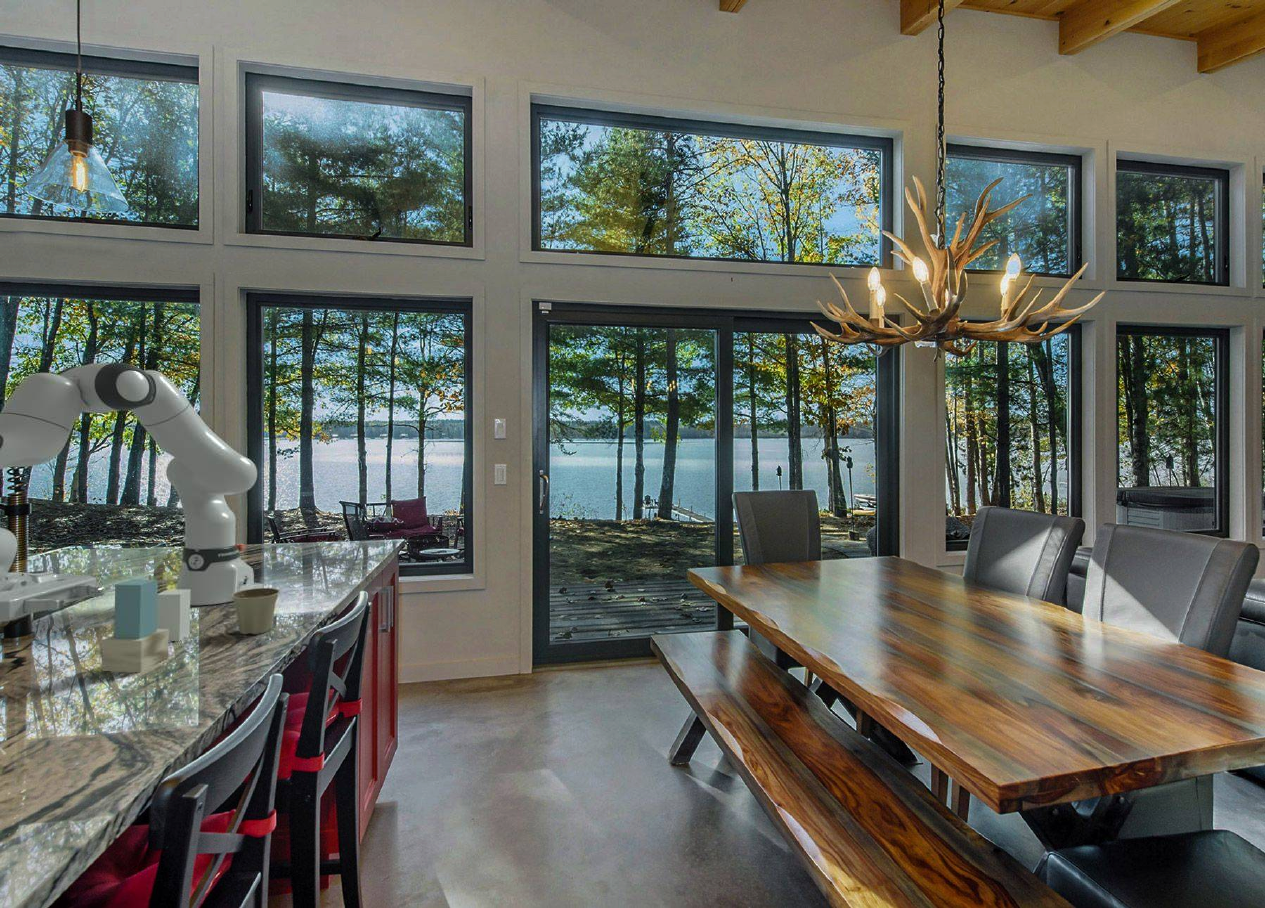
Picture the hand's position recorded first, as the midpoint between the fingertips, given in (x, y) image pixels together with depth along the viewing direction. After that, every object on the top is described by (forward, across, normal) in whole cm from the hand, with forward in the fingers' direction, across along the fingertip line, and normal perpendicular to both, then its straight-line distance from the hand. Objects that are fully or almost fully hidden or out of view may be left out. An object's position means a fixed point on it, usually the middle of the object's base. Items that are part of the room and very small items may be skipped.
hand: (82, 597), depth 117 cm
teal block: (+10, 0, +7) cm, 12 cm away
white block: (+6, +16, +13) cm, 21 cm away
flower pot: (+20, +22, +13) cm, 32 cm away
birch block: (+10, 0, +13) cm, 16 cm away
